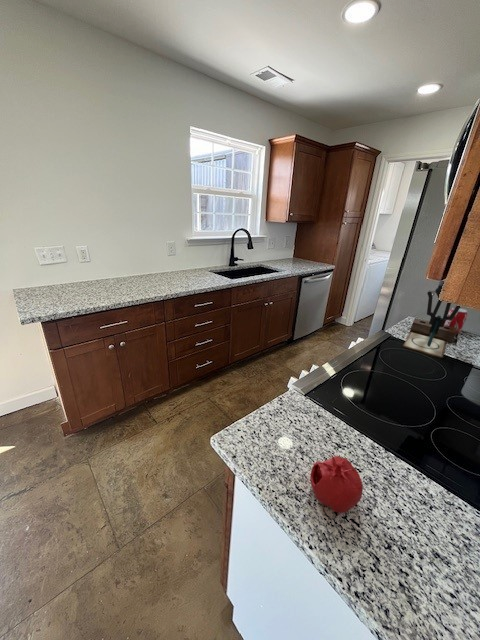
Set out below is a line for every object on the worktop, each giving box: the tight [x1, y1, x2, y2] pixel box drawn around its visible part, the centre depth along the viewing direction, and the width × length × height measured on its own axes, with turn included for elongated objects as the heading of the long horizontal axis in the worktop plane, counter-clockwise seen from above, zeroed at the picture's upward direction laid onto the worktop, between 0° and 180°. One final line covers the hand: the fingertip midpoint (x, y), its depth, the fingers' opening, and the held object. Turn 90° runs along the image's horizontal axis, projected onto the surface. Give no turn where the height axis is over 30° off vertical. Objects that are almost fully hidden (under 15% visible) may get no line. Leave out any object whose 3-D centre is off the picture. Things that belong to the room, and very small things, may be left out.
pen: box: [427, 314, 442, 346], centre depth 111 cm, size 1×1×14 cm
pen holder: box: [409, 317, 457, 344], centre depth 124 cm, size 7×17×5 cm, turn 51°
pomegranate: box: [309, 452, 364, 514], centre depth 53 cm, size 10×10×9 cm
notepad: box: [402, 331, 447, 359], centre depth 116 cm, size 14×18×1 cm
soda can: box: [444, 307, 468, 336], centre depth 125 cm, size 7×7×12 cm
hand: (433, 332), depth 111 cm, fingers closed on pen
